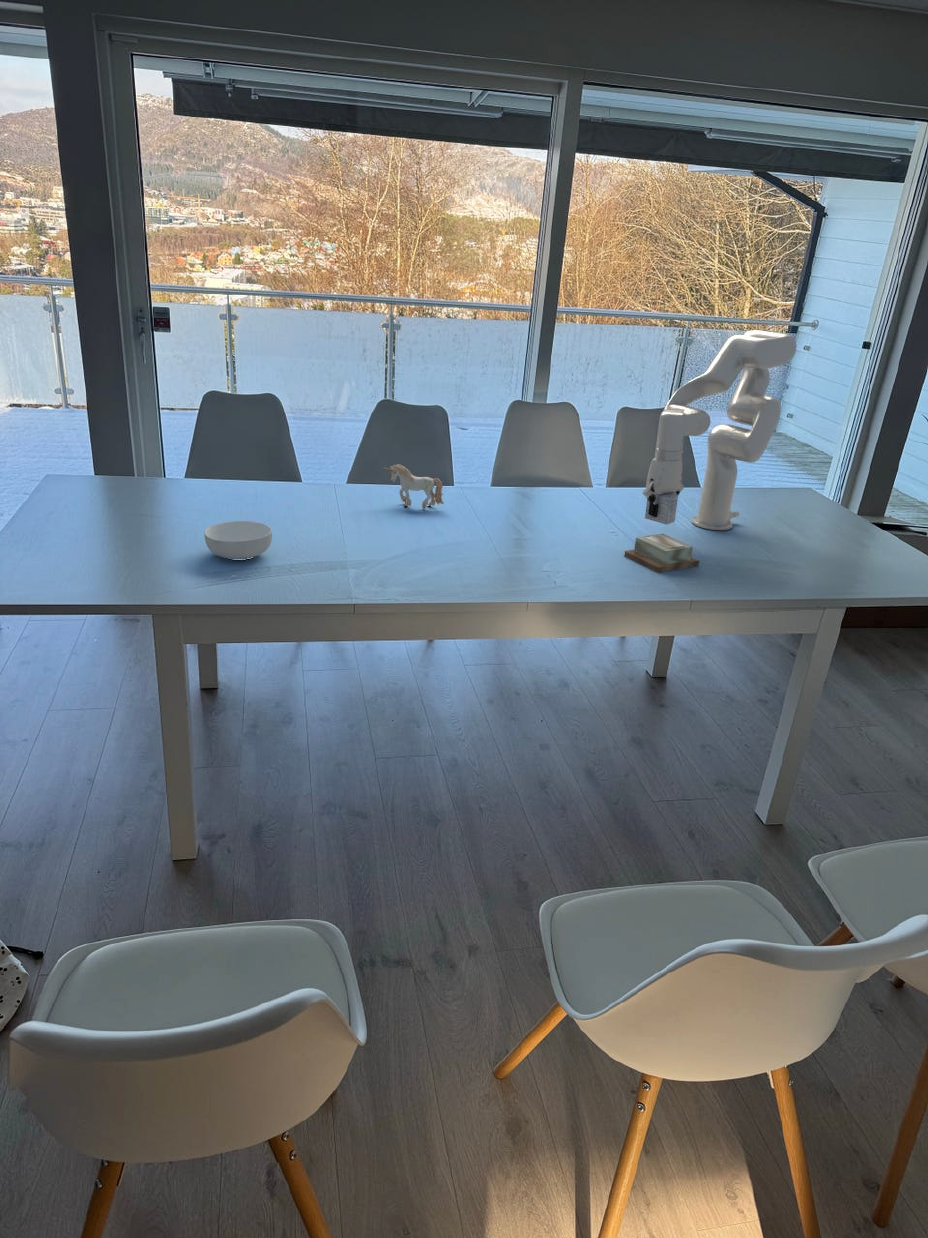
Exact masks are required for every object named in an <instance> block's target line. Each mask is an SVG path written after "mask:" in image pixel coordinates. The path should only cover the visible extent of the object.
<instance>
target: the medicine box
mask: <svg viewBox="0 0 928 1238" xmlns="http://www.w3.org/2000/svg"><path fill="white" fill-rule="evenodd" d="M650 494H651V492H650ZM655 496H656V495H654V499H655ZM678 499H679V495H678V494H675V493H666V494H661V495H660V497H659V500H658V502H657V504H659V506H658V514H657V517H653V516H651V515H649V514H648V512H649V504H650V502H648V499H647V498H646V506H645V513H644V519H646V520H649V521H653V522H656V523H660V524H663V525H666V526H668V525H670V524H673V523H675V522H676V515H677V506H678Z"/></svg>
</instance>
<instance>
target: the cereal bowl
mask: <svg viewBox="0 0 928 1238" xmlns="http://www.w3.org/2000/svg"><path fill="white" fill-rule="evenodd" d="M203 534H204V541H205V544H206V547H207V548H208V549H209V551H210V552H211V553H213V554H215V555H216V556H217V557H221V558H224V559H226V558H229V559H247V558H251V557H254V556H255V557H257V556H259V555H262V554H263V553H264V552H266V551H267V550H268V549H269V547H270V546H271V544H272V541H273V540H272V539H273V530H272V528H271V527H270V526H269V525H267V524H266V523H265V524H264V523H263V522H262V523H261V522H257V521H249V520H248V521H247V520H234V521H233V520H232V521H225V522H219V523H217V524H213V525H210V526H209V527H207V528H206V529H205V530H204V533H203ZM255 557H254V558H255Z"/></svg>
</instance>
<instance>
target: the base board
mask: <svg viewBox="0 0 928 1238" xmlns="http://www.w3.org/2000/svg"><path fill="white" fill-rule="evenodd" d="M693 549H694V547H693V546H692V545H690V544H687V543H686V542H682V541H680V540H678V539H676V538H674V537H671V536H670V535H667V534H665V533H658V534H651V535H644V536H638V537H636V538H635V543H634V549H629V550H624V557H626V558H627V559H628V560H629V559H630V560H632V561H633V562H636V563H638V564H639V565H641V566H643V567H645V568H648V569H649V570H652V571H654V572H655V573H658V574H660V573H666V572H670V571H671V570H672V571H675V570H682V568H683V569H687V568H686V567H688V568H692V567H691V566H694V567H699V566H698V565H700V559H698V558H695V557H693V556H692V552H693Z"/></svg>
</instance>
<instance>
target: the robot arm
mask: <svg viewBox="0 0 928 1238" xmlns="http://www.w3.org/2000/svg"><path fill="white" fill-rule="evenodd" d="M796 352H797V341H796V340H795V338H794V337H793V336H792V335H789V334H787V333H786V334H785V333H780V332H773V331H768V330H761V329H759V330H758V329H757V330H756V329H751V330H748V331H745V333H743V334H735V335H732V336H730V337H729V338H727V340H726V341H725V342H724V344H723V345H722V346H721V348H720V349H719V351H718V353H716V355H715V357H714V358H713V360H712V361H711V363H709V365H708V367H707V369H706V370H705V371H704V372H703V373H702V374H700V375H699V376H697V377H694V378H693V379H691V380H689V381H688V382H686V383H685V384H683V385H681V386H680V387H678V388H677V390H676V391H675V392H674V393H673V395H672V396H671V397H670V399H669V400H668V402H667V403H666V405H665V406H664V409H663V410H662V411H661V413H660V415H659V421H658V428H657V434H656V435H657V436H656V444H655V449H654V450H655V452H654V457H653V458H652V460H651V462H650V465H649V468H648V472H647V478H646V482H645V483H646V484H645V489H644V490H643V491H642V494H643V496H644V497H645V498H646V500H647V499H648V502H650V504H649V512H648V514H649V515H651V516H653V517H657V514H658V506H659V504H657V502H658V500H659V497H660V495H661V494H666V493H675V494H678V496H679V495H680V493H681V492H682V491H684V488H685V486H684V485H683V483H682V479H683V459H682V455H683V453H684V449H683V448H684V441H685V437H687V436H688V437H689V436H691V437H694V436H695V437H696V436H698V437H699V436H701V435H703V434H705V433H706V432H707V431H708V430H709V428H710V425H711V423H712V422H711V417H710V414H709V413H708V412H706V410H703V409H700V408H695V407H692V406H689V405H690V404H693V402H696V401H697V400H699V399H701V398H707V397H710V396H715V395H719V394H723V393H725V392H727V391H728V390H730V388H731V386H732V384H733V383H734V382H735V381H736V379H737V377H738V376H739V374H740V373H741V377H740V379H739V381H738V383H737V386H736V387H735V389H734V393H732V397H731V399H730V401H729V403H728V406H727V408H726V417H727V418H728V419H729V420H730V421H732V422H735V423H738V424H741V425H744V426H749V427H751V428H750V429H749V428H745V427H741V426H737V425H733V424H727V423H720V424H717V425H715V426H714V427H712V429H711V430H710V431H709V434H708V436H707V458H706V459H707V460H706V461H707V462H706V468H705V473H704V479H703V484H702V490H701V497H700V502H699V507H698V514H697V515H695V516H693V517H692V518H691V522H692V524H694V525H695V526H697V527H700V528H703V529H707V530H712V531H727V530H730V529H732V528H733V522H732V521H731V519H733V518H737V517H740V512H739V511H738V510H736V511H735V510H734V511H732V510H731V508H732V504H733V499H734V492H735V488H736V482H737V477H738V465H737V463H736V460H737V461H739V462H743V463H748V464H752V463H753V464H754V463H756V462H758V461H759V460H760V459H761V458H762V456H763V454H764V453H765V451H766V448H767V447H768V444H769V442H770V440H771V438H772V436H773V434H774V432H775V430H776V428H777V425H778V423H779V420H780V418H781V413H782V411H781V410H782V407H781V403H780V402H779V400H778V399H777V398H775V397H773V396H769V395H765V394H766V393H767V392H766V391H767V389H768V388H769V385H770V381H771V374H770V371H769V369H772V368H775V367H776V368H777V367H780V366H784V365H786V364H788V363H789V362H790V361H792V359H794V356H795V354H796ZM650 492H651V494H650ZM654 495H656V496H655V499H654Z"/></svg>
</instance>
